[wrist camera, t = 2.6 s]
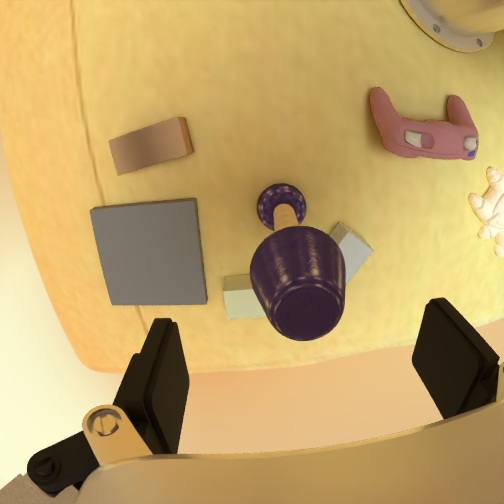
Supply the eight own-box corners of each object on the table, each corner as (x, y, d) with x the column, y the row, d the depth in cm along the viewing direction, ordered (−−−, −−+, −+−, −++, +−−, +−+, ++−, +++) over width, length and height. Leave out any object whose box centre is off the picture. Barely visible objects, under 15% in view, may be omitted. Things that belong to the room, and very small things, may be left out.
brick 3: (339, 220, 28) (348, 231, 25) (362, 237, 29) (373, 250, 26) (300, 271, 30) (305, 286, 27) (324, 286, 31) (331, 302, 28)
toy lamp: (250, 231, 28) (251, 362, 13) (249, 178, 26) (247, 261, 11) (305, 230, 28) (361, 356, 13) (306, 178, 26) (380, 258, 11)
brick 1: (186, 118, 24) (178, 117, 22) (194, 151, 26) (187, 155, 23) (122, 138, 25) (108, 140, 22) (130, 170, 26) (117, 175, 23)
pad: (196, 198, 27) (194, 200, 26) (207, 299, 31) (206, 304, 30) (94, 207, 27) (89, 210, 26) (115, 300, 31) (111, 305, 30)
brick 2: (289, 270, 30) (292, 285, 27) (290, 297, 31) (293, 314, 28) (225, 275, 30) (222, 291, 27) (229, 302, 31) (227, 319, 28)
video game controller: (361, 128, 26) (390, 172, 21) (366, 82, 23) (401, 118, 18) (448, 131, 26) (485, 173, 21) (457, 92, 22) (500, 129, 18)
